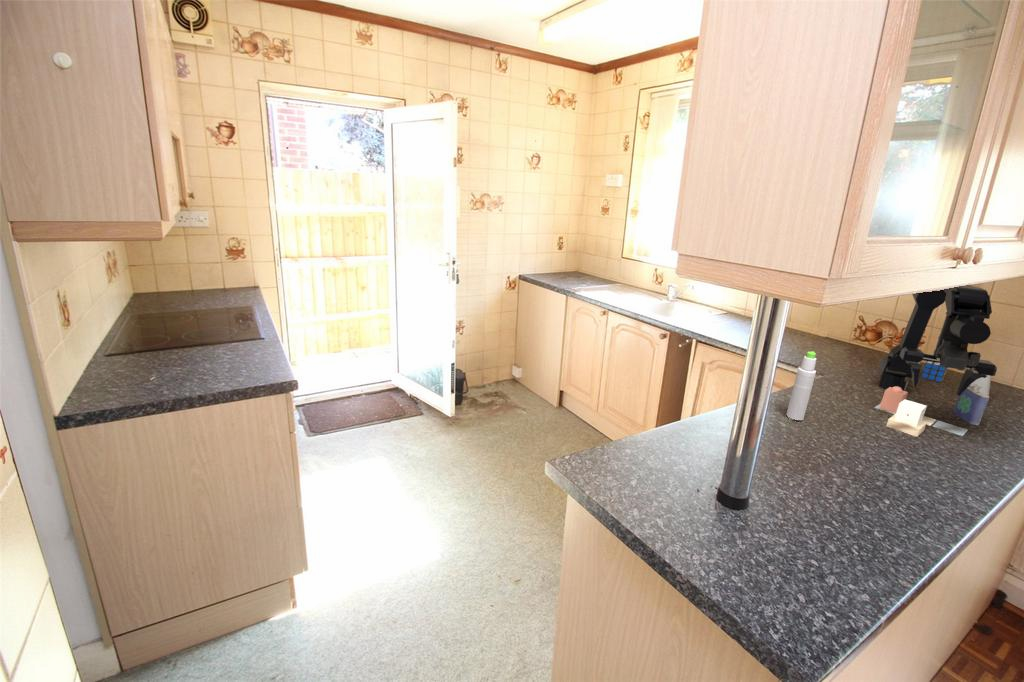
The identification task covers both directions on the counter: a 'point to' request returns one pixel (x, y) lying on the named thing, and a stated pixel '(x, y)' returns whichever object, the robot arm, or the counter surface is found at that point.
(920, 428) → the block
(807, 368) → the bottle
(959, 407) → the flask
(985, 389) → the salt shaker
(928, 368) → the puzzle toy
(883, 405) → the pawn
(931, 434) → the counter surface
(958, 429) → the board
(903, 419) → the die
